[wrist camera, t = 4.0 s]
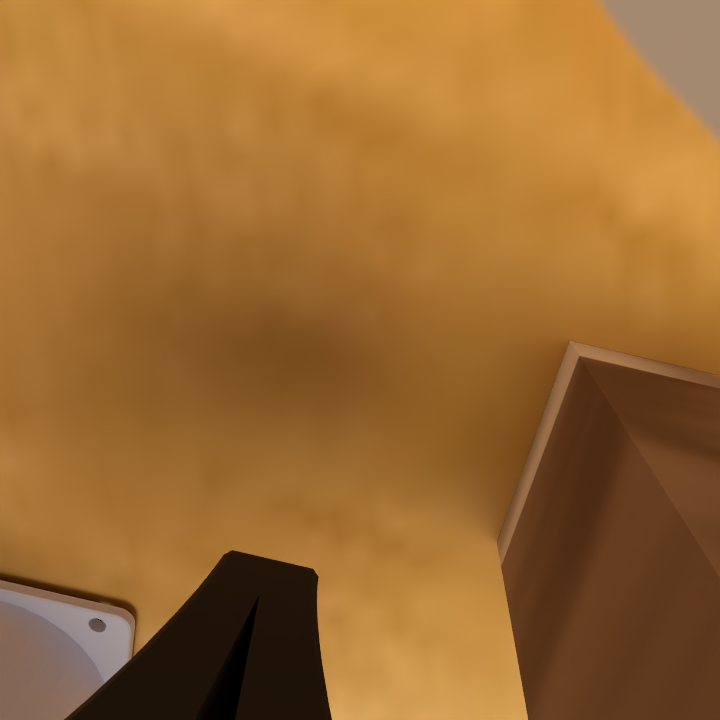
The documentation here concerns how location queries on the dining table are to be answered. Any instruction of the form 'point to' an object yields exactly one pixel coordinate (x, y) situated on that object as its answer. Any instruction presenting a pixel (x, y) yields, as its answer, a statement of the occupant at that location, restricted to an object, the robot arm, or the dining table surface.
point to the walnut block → (619, 544)
